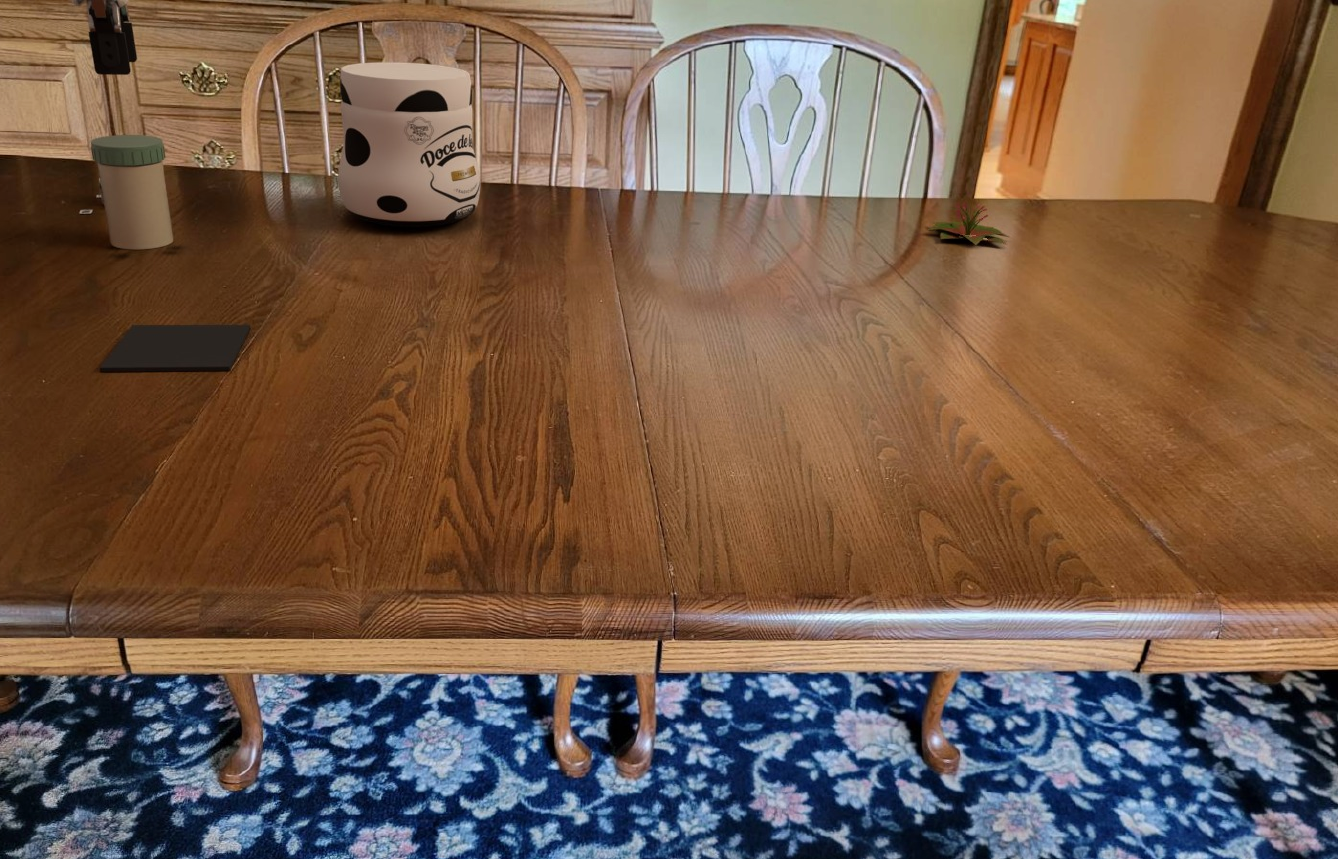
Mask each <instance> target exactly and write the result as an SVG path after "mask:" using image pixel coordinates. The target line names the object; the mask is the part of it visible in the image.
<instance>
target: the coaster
mask: <svg viewBox="0 0 1338 859" xmlns="http://www.w3.org/2000/svg"><path fill="white" fill-rule="evenodd" d="M250 330H251V324H132V325H131V326H130V327H129V329H127V331H126V332H125V334H124V336H123V337H122V338H121V339H120V340H119V341H118V343H117V344H116V345H115V347H114V348H113V350H112V351H111V352H110V353H109V354H108V356H106V359H104V361H103V362H102V363H101V365H100V366H99V373H124V372H125V373H126V372H129V373H133V372H137V373H138V372H139V373H141V372H230V371H231V370H232V368H233V365H234V363H235V361H236V359H237V357H238V355H239V354H240V351H241V349H242V347H243V345H244V343H245V341H246V339H247V337H248V335H249V333H250Z"/></svg>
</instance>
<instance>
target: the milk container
mask: <svg viewBox="0 0 1338 859" xmlns="http://www.w3.org/2000/svg"><path fill="white" fill-rule="evenodd" d="M339 74H340V76H339V80H340V81H339V91H340V98H341V102H340V114H341V123H342V136H343V138H342V140H343V142H342V149H341V150H342V151H341V155H340V161H339V165H338V170H337V172H338V174H337V178H338V179H337V181H338V182H337V183H338V188H339V193H340V197H341V198H340V199H341V201H342V204H343V206H344V208H345V209H346V210H347V212H349V213H350V214H351V215H353V216H354V217H356V218H358V219H360V220H361V221H366V222H370V223H373V224H377V225H381V226H391V227H392V226H393V227H397V228H424V227H438V226H443V225H447V224H453V223H457V222H459V221H462V220H465V219H467V218H468V217H469V216H471V215H472V214H473V213H474V212H475V211H476V208H477V207H478V205H479V199H480V195H481V173H480V169H479V165H478V162H477V158H476V154H475V150H474V143H473V106H472V105H473V87H472V79H471V74H470V73H469V72H468V71H467V70H465V69H462V68H458V67H453V66H447V65H440V64H431V63H430V64H429V63H418V62H401V61H400V62H398V61H397V62H394V61H393V62H391V61H390V62H389V61H388V62H387V61H386V62H385V61H384V62H381V61H380V62H378V61H377V62H360V63H353V64H347V65H345V66H342V67H341V68H340V73H339Z"/></svg>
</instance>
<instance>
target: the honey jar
mask: <svg viewBox="0 0 1338 859" xmlns="http://www.w3.org/2000/svg"><path fill="white" fill-rule="evenodd" d="M163 161H164V160H162V161H160V162H157V163H152V164H145V165H131V166H120V165H107V164H101V163H98V162H96V165H97V170H98V171H97V172H98V177H99V178H100V183H101V189H102V195H103V201H104V204H103V206H104V213H105V218H106V224H107V231H108V236H109V243H110V245H111V246H112V247H115V248H118V249H123V250H134V251H135V250H139V251H140V250H152V249H158V248H162V247H166V246H168V245H170V244H172V243H173V242H174V232H173V226H172V224H173V223H172V219H171V218H172V217H171V211H170V203H169V197H168V196H169V195H168V190H167V189H168V188H167V182H166V175H165V167H164V162H163Z"/></svg>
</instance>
